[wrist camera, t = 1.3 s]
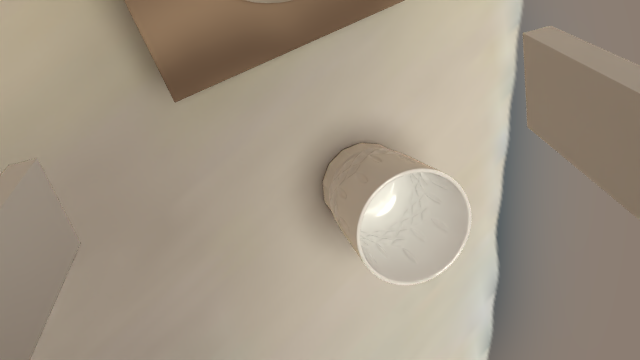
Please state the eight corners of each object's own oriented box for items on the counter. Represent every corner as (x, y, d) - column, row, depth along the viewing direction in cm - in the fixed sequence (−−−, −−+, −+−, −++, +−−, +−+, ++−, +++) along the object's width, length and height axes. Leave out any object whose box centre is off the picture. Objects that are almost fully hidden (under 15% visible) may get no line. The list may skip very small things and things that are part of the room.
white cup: (331, 245, 46) (376, 304, 37) (301, 157, 43) (340, 198, 34) (418, 207, 47) (483, 256, 38) (394, 119, 45) (457, 149, 35)
